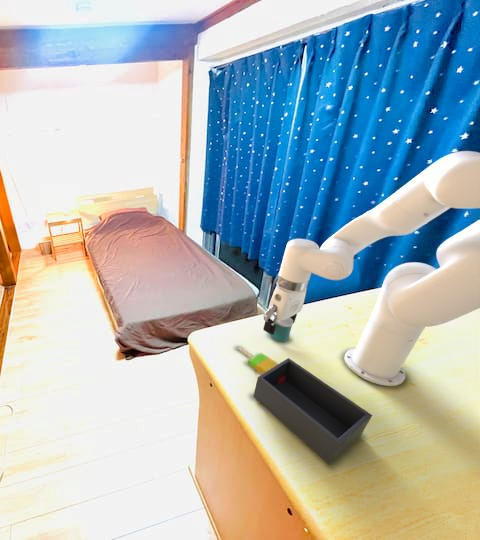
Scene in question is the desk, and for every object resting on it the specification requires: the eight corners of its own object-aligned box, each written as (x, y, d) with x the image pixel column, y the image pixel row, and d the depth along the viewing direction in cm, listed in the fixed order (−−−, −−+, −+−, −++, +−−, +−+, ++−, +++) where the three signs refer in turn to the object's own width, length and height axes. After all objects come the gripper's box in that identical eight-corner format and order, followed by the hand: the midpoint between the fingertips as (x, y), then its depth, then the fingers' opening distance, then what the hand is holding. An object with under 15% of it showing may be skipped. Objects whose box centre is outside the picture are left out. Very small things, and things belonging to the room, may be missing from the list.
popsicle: (232, 355, 86) (278, 388, 75) (231, 349, 85) (277, 382, 73) (244, 345, 88) (291, 375, 76) (243, 339, 86) (291, 369, 74)
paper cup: (276, 328, 93) (281, 312, 89) (292, 338, 88) (297, 321, 85) (265, 334, 91) (269, 318, 87) (281, 345, 86) (285, 327, 83)
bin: (282, 377, 76) (288, 357, 73) (360, 436, 61) (372, 415, 58) (253, 396, 72) (257, 376, 68) (329, 465, 57) (340, 444, 53)
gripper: (284, 297, 73) (270, 344, 82) (323, 278, 80) (307, 323, 89) (260, 284, 79) (249, 329, 88) (298, 267, 86) (285, 311, 94)
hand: (278, 326), depth 88 cm, fingers open, 9 cm apart
